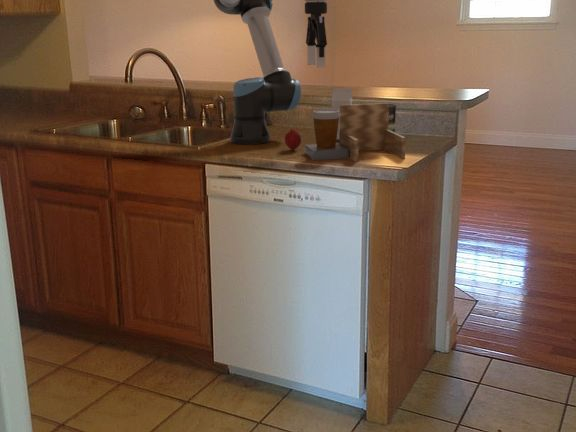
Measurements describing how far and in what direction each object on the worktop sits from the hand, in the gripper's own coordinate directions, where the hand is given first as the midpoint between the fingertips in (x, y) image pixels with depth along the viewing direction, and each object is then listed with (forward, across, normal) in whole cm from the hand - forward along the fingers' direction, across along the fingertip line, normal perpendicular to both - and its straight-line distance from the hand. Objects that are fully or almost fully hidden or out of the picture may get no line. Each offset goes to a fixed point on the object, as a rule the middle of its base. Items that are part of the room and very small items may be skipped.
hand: (316, 66), depth 229 cm
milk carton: (+29, +16, -14) cm, 36 cm away
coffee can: (+29, +2, -25) cm, 38 cm away
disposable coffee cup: (+26, -14, 0) cm, 30 cm away
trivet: (+29, -14, 0) cm, 32 cm away
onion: (+29, -2, +9) cm, 30 cm away
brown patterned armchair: (+29, -17, -15) cm, 37 cm away
